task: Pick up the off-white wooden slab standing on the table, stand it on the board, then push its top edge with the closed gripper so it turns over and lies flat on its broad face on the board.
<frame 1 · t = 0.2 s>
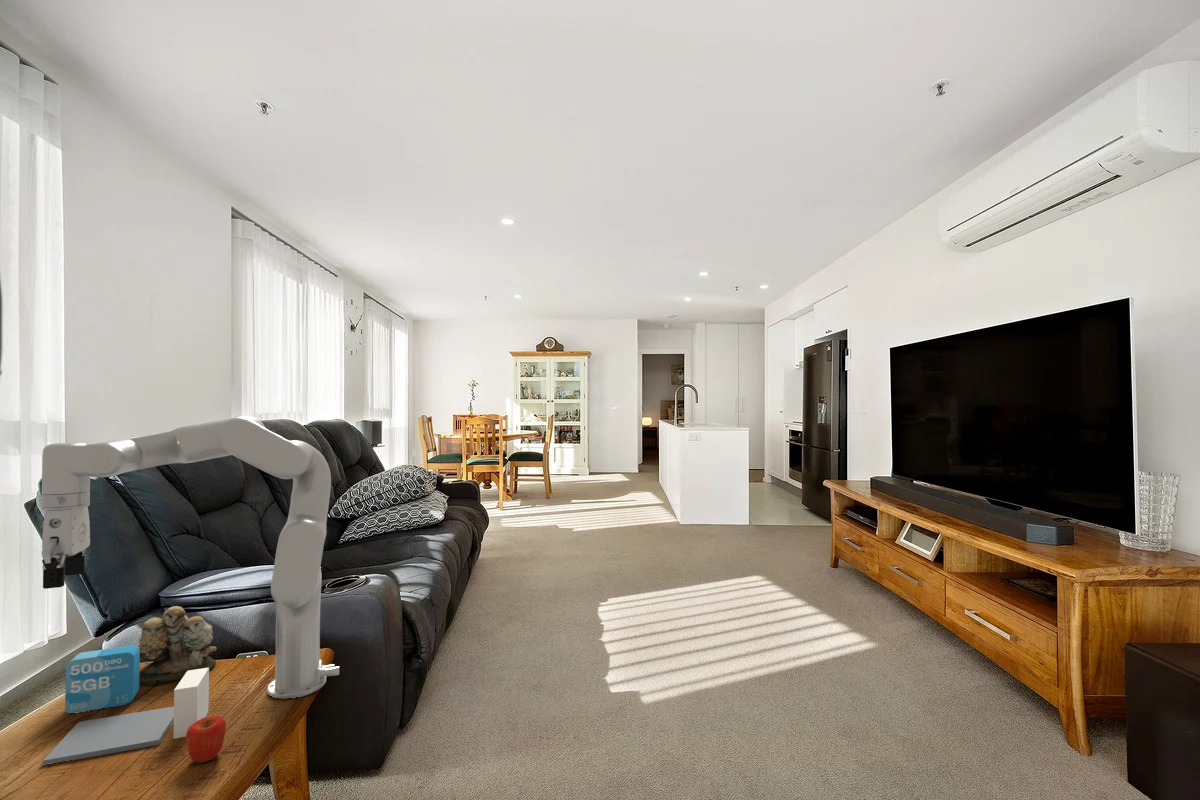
hand: (64, 580, 120), 31 cm above the table, tool pointing down, fingers open, 9 cm apart
board: (117, 735, 116), on the table
apple: (205, 760, 108), on the table
data package: (103, 705, 128), on the table
owl figurine: (173, 675, 142), on the table
slab: (191, 725, 120), on the table
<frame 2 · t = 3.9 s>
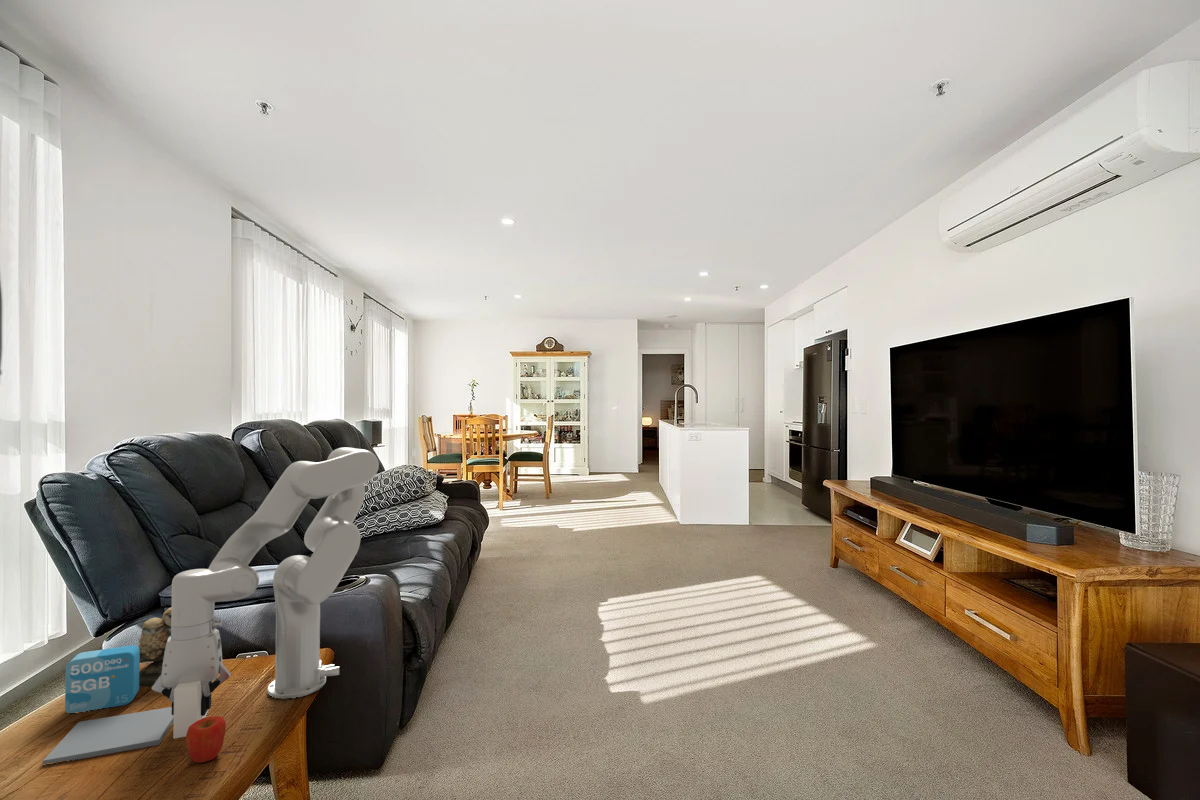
hand: (191, 713, 120), 2 cm above the table, tool pointing down, fingers closed on slab, 4 cm apart
slab: (191, 725, 120), on the table, touching gripper
everything else where it was.
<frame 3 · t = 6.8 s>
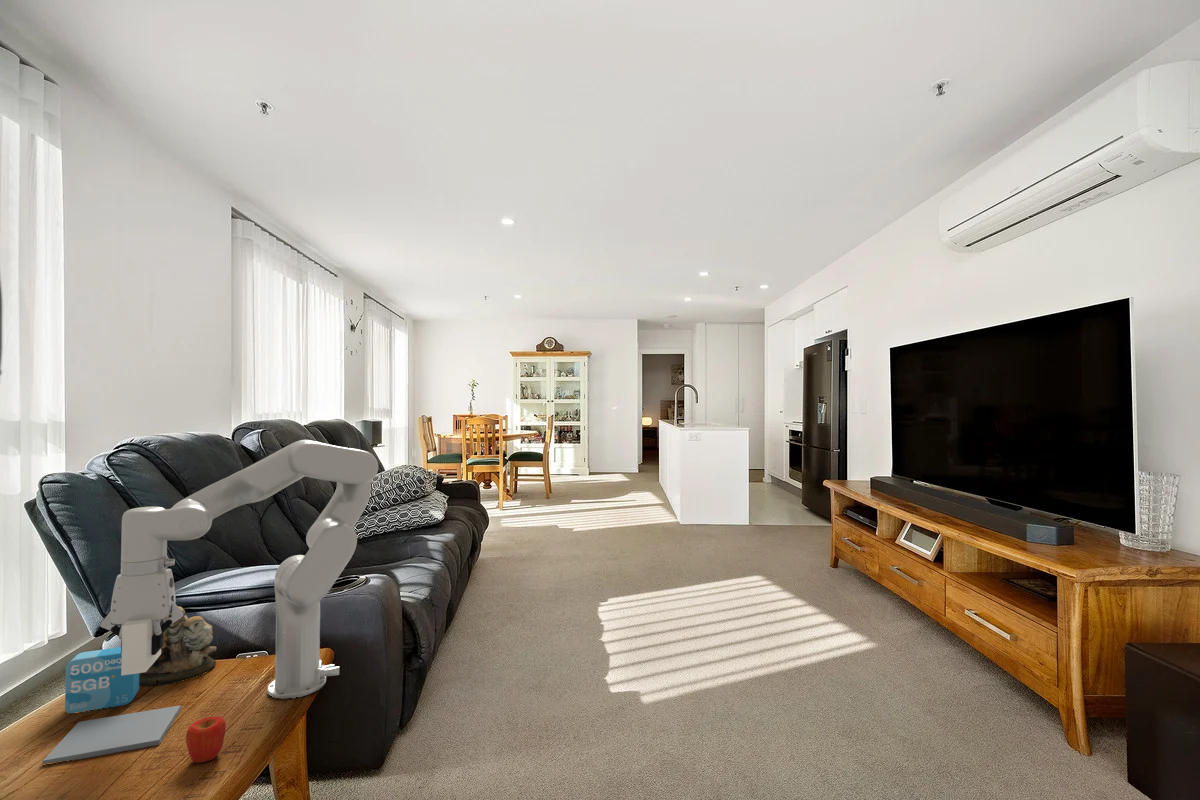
hand: (142, 653, 117), 16 cm above the table, tool pointing down, fingers closed on slab, 4 cm apart
slab: (142, 664, 117), point 14 cm above the table, touching gripper
everything else where it was.
when the fingers open (4 cm above the table, at t = 9.6 s): slab stays where it is, resting on board.
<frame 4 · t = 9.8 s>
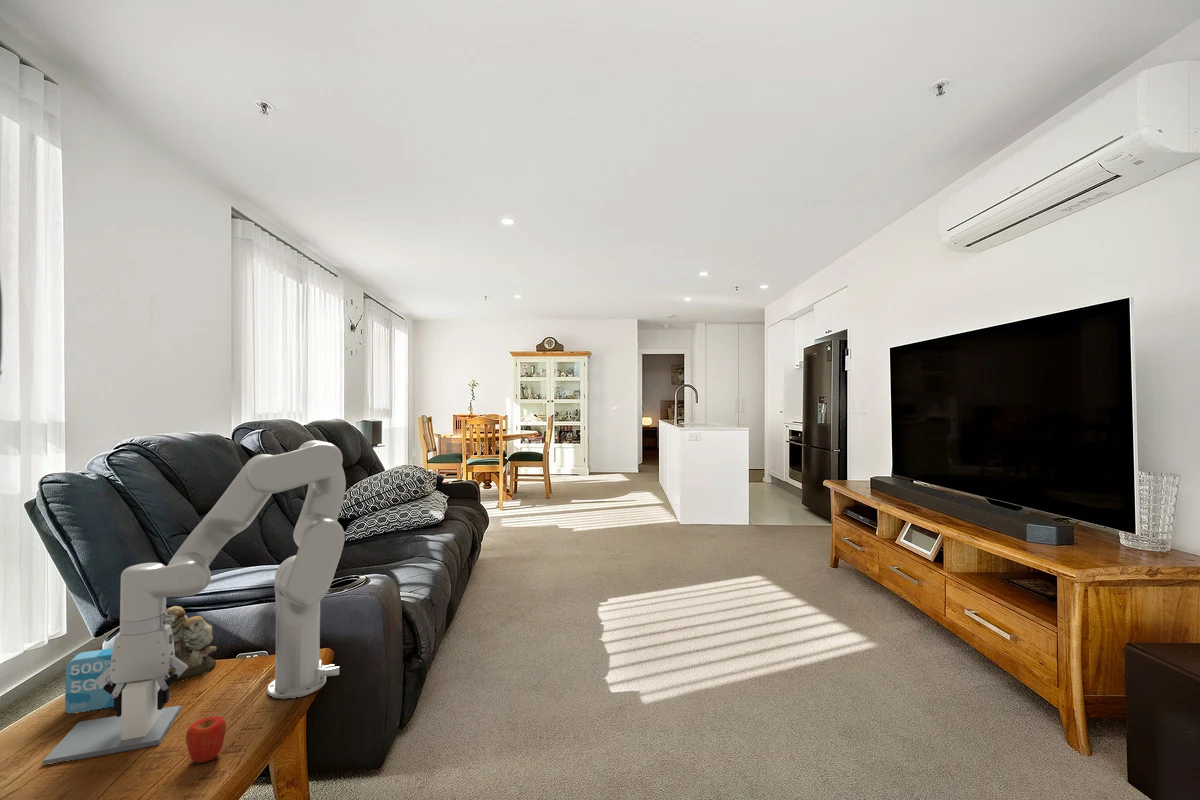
hand: (141, 709, 117), 5 cm above the table, tool pointing down, fingers open, 6 cm apart
slab: (142, 726, 117), point 1 cm above the table, touching board
everything else where it was.
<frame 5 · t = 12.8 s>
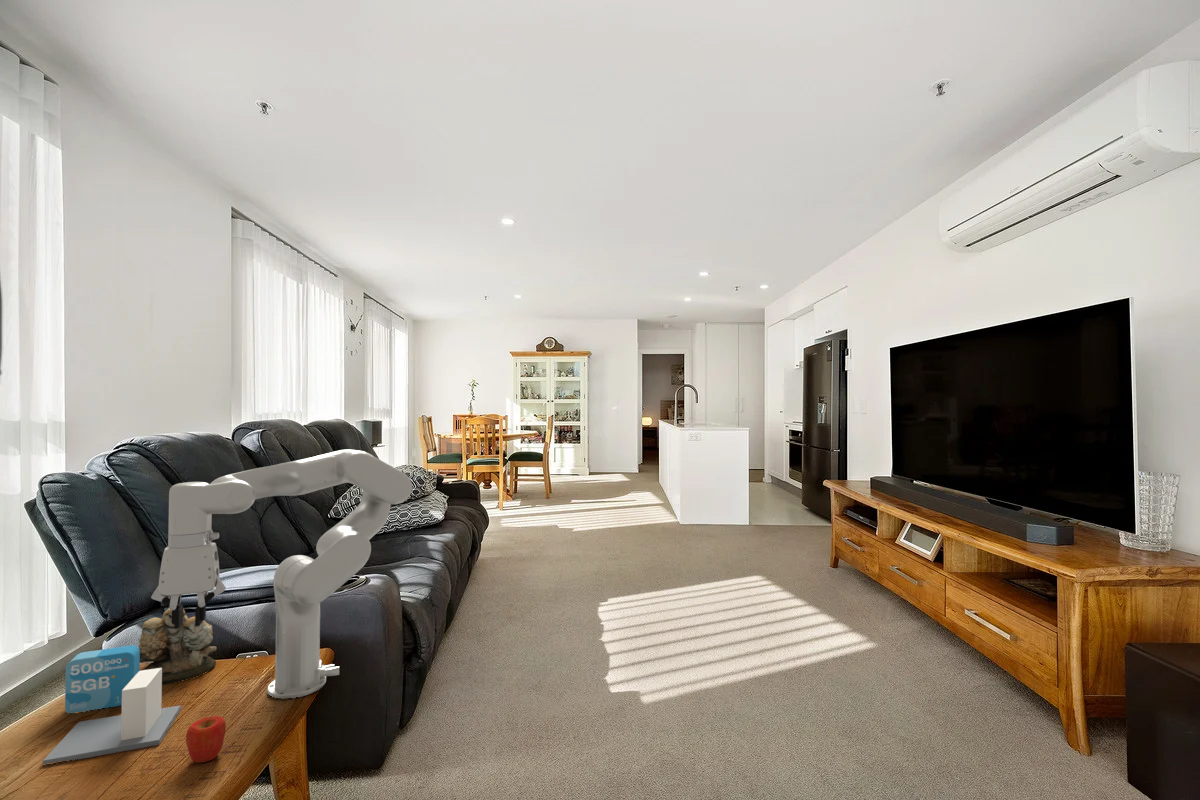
hand: (188, 624, 121), 21 cm above the table, tool pointing down, fingers open, 3 cm apart
nothing on the table moved.
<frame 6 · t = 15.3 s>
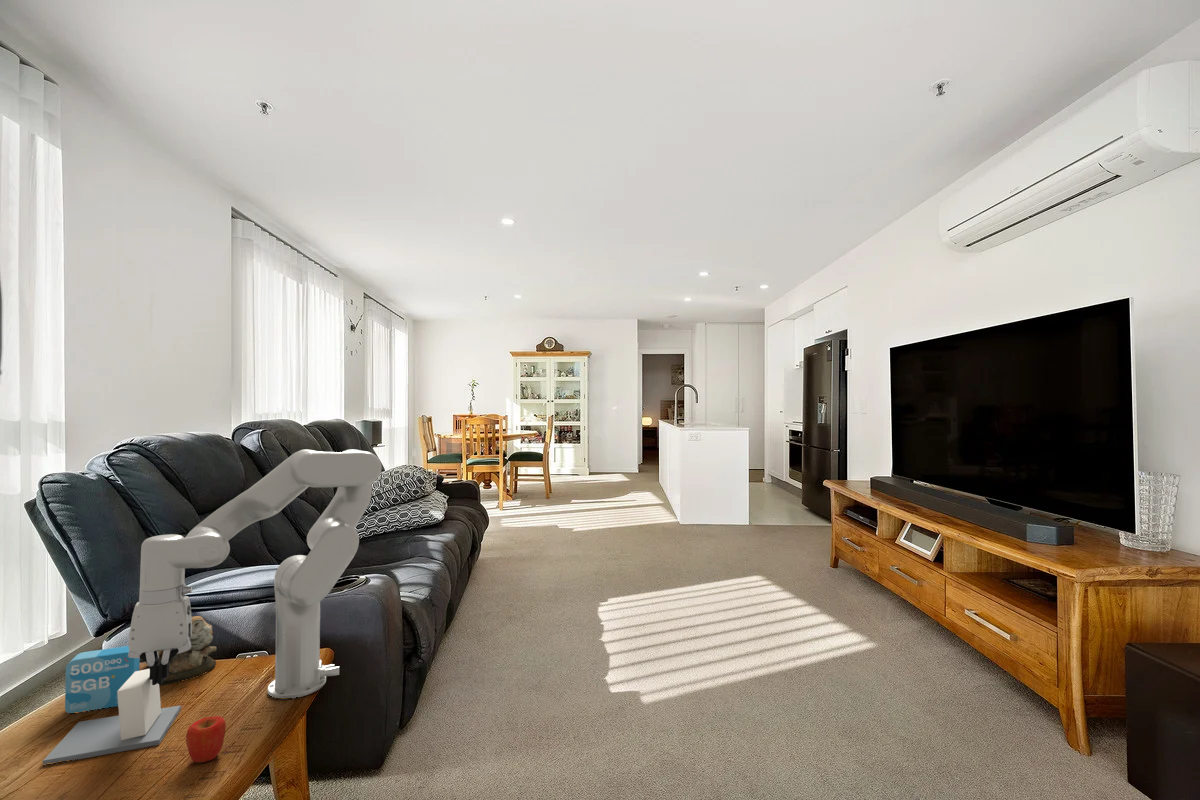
hand: (159, 681, 118), 10 cm above the table, tool pointing down, fingers closed
slab: (142, 725, 117), point 1 cm above the table, touching board, gripper
everything else where it was.
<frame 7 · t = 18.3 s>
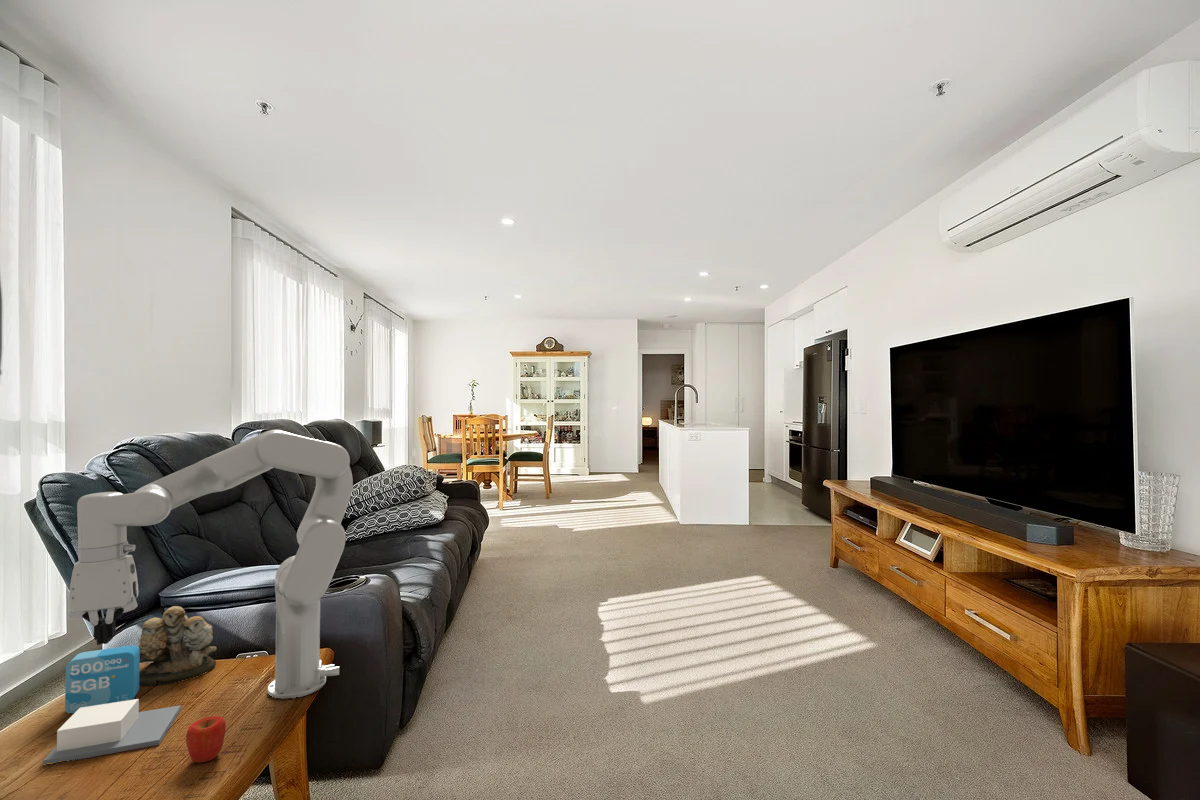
hand: (105, 641, 115), 20 cm above the table, tool pointing down, fingers closed
slab: (130, 718, 117), point 3 cm above the table, tilted 90°, touching board
everything else where it was.
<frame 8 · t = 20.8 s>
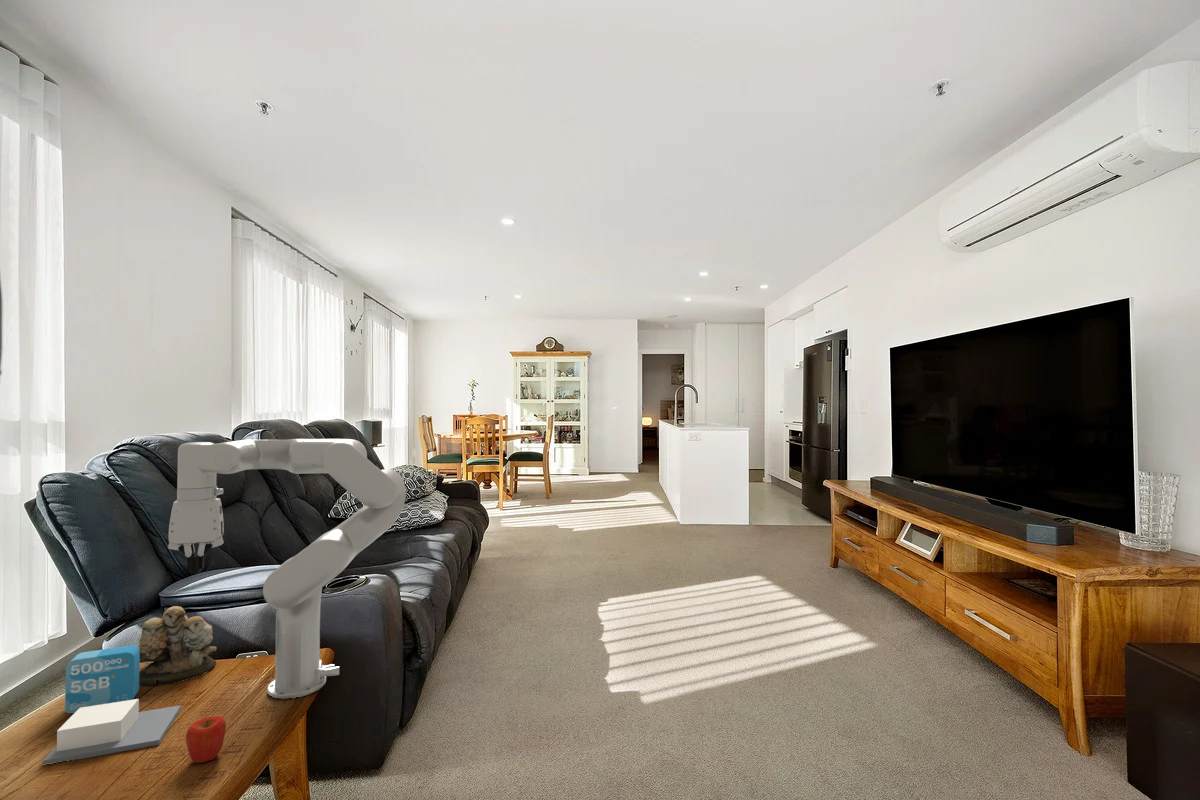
hand: (195, 572, 132), 29 cm above the table, tool pointing down, fingers closed
nothing on the table moved.
at the end: slab tilted 90°; slab touching board; slab inside the target area on the board (2.0 cm from its centre), point 3.0 cm above the board's base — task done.
